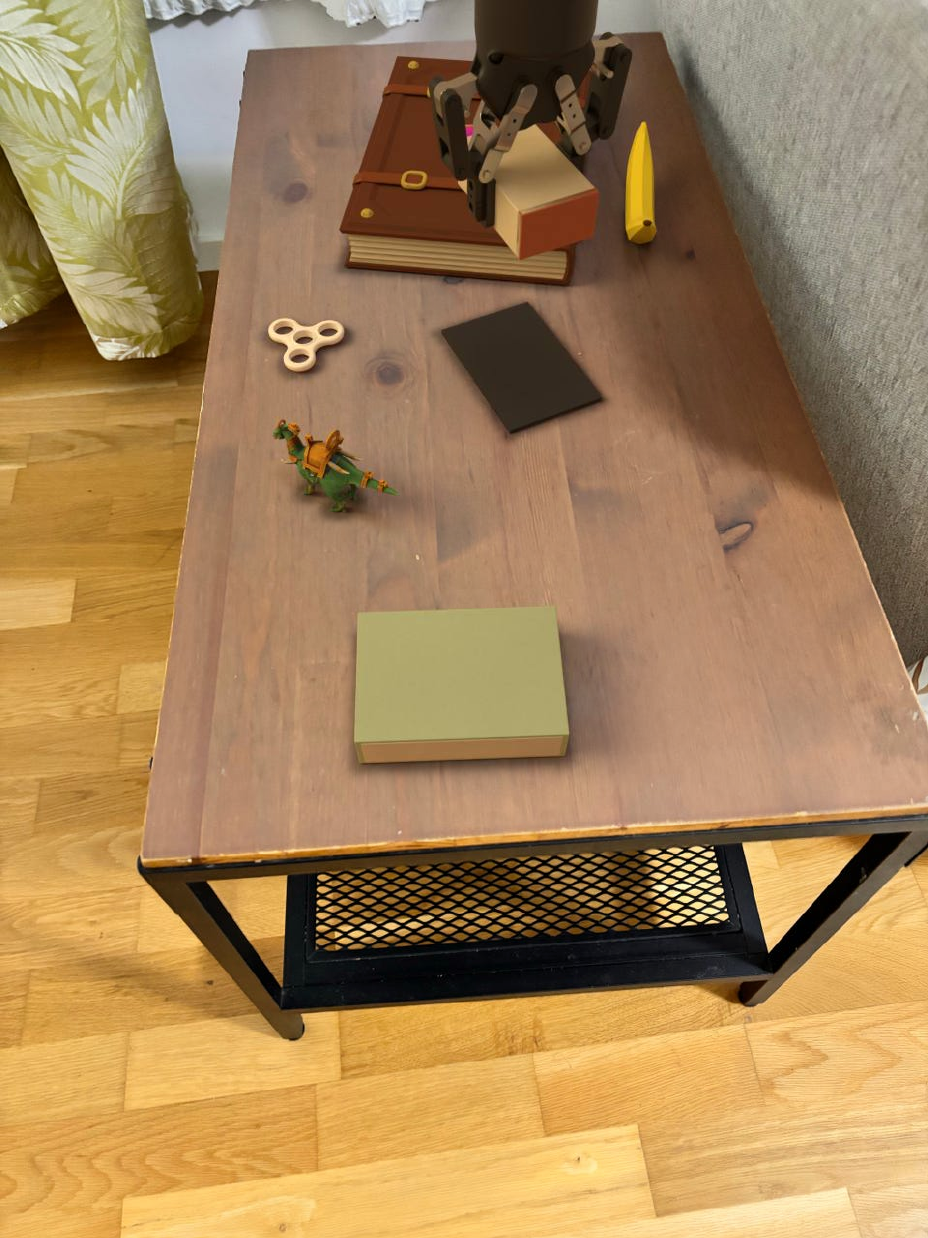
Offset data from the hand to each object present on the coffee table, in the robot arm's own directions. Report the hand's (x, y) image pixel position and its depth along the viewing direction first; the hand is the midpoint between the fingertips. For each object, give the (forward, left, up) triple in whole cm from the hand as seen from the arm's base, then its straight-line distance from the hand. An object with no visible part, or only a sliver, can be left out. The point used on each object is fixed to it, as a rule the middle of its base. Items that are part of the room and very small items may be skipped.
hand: (524, 208), depth 68 cm
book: (+2, -30, -17) cm, 34 cm away
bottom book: (+6, +31, -17) cm, 36 cm away
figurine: (+15, +13, -17) cm, 26 cm away
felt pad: (-1, -2, -17) cm, 17 cm away
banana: (-14, -22, -17) cm, 32 cm away
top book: (0, 0, 0) cm, 0 cm away
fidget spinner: (+19, -5, -17) cm, 26 cm away
